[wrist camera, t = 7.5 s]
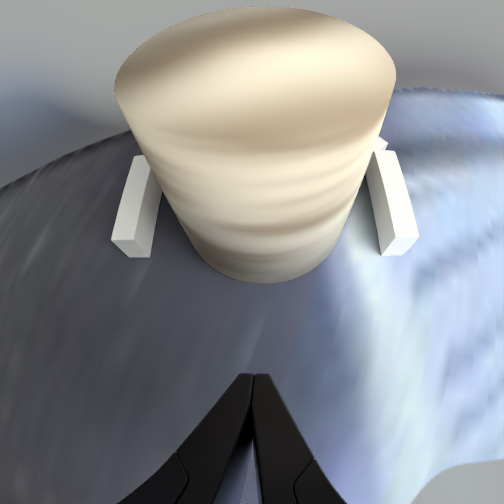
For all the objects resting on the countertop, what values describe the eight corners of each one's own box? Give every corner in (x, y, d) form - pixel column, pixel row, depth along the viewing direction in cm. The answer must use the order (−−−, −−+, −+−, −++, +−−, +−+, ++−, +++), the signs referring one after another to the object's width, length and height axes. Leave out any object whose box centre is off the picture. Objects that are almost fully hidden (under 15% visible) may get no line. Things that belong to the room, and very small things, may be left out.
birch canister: (374, 232, 17) (448, 88, 7) (230, 316, 16) (158, 205, 6) (287, 131, 21) (288, -3, 11) (164, 188, 20) (100, 55, 10)
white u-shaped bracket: (402, 255, 17) (419, 237, 14) (128, 257, 18) (110, 240, 15) (368, 123, 21) (375, 100, 19) (161, 128, 22) (152, 106, 20)
